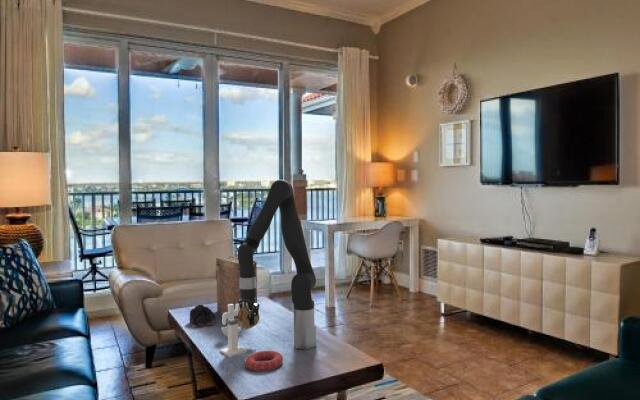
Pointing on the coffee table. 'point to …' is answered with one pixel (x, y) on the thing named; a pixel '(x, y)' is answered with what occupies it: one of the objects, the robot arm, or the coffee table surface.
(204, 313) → the black rough rounded lump
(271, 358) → the torus
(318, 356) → the coffee table surface
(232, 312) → the figurine
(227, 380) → the coffee table surface
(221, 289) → the brown wooden box
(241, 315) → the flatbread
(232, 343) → the post
